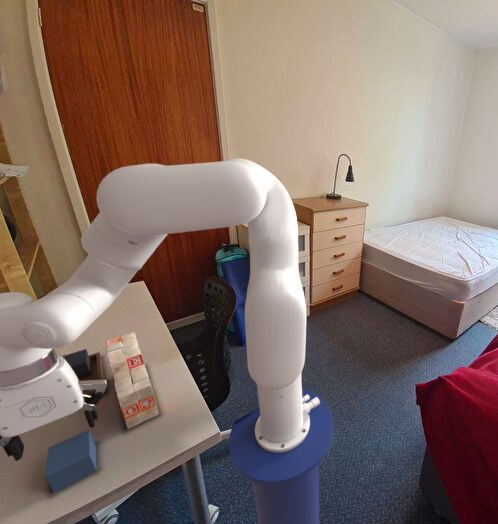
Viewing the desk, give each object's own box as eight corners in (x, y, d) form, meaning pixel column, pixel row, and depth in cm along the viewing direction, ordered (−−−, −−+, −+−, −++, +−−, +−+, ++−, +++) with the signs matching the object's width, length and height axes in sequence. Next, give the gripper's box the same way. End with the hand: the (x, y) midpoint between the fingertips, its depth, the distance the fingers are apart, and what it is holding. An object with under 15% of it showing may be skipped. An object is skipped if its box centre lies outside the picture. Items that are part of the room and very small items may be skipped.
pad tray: (101, 357, 84) (99, 351, 84) (105, 393, 72) (102, 387, 72) (51, 374, 78) (49, 368, 77) (46, 416, 66) (43, 410, 65)
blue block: (95, 444, 60) (89, 429, 58) (96, 470, 55) (89, 455, 54) (56, 463, 56) (48, 447, 55) (54, 493, 52) (45, 477, 50)
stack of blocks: (160, 414, 67) (148, 374, 63) (127, 430, 63) (112, 389, 59) (144, 366, 82) (134, 330, 77) (117, 376, 78) (104, 339, 73)
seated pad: (90, 361, 82) (86, 348, 80) (91, 374, 77) (86, 362, 75) (62, 370, 78) (56, 357, 77) (61, 385, 73) (55, 372, 72)
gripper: (-73, 408, 38) (-19, 487, 44) (94, 355, 49) (119, 424, 55) (-55, 376, 43) (-9, 451, 50) (93, 334, 54) (115, 400, 61)
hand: (58, 437), depth 52 cm, fingers open, 9 cm apart
